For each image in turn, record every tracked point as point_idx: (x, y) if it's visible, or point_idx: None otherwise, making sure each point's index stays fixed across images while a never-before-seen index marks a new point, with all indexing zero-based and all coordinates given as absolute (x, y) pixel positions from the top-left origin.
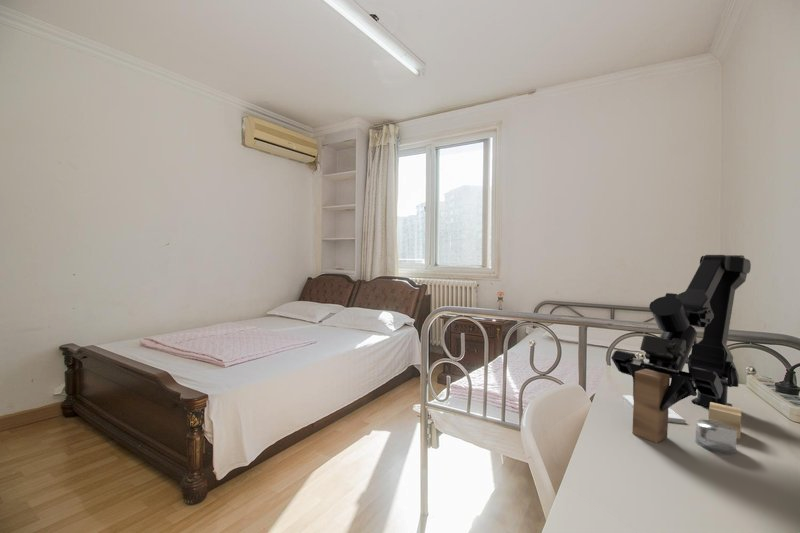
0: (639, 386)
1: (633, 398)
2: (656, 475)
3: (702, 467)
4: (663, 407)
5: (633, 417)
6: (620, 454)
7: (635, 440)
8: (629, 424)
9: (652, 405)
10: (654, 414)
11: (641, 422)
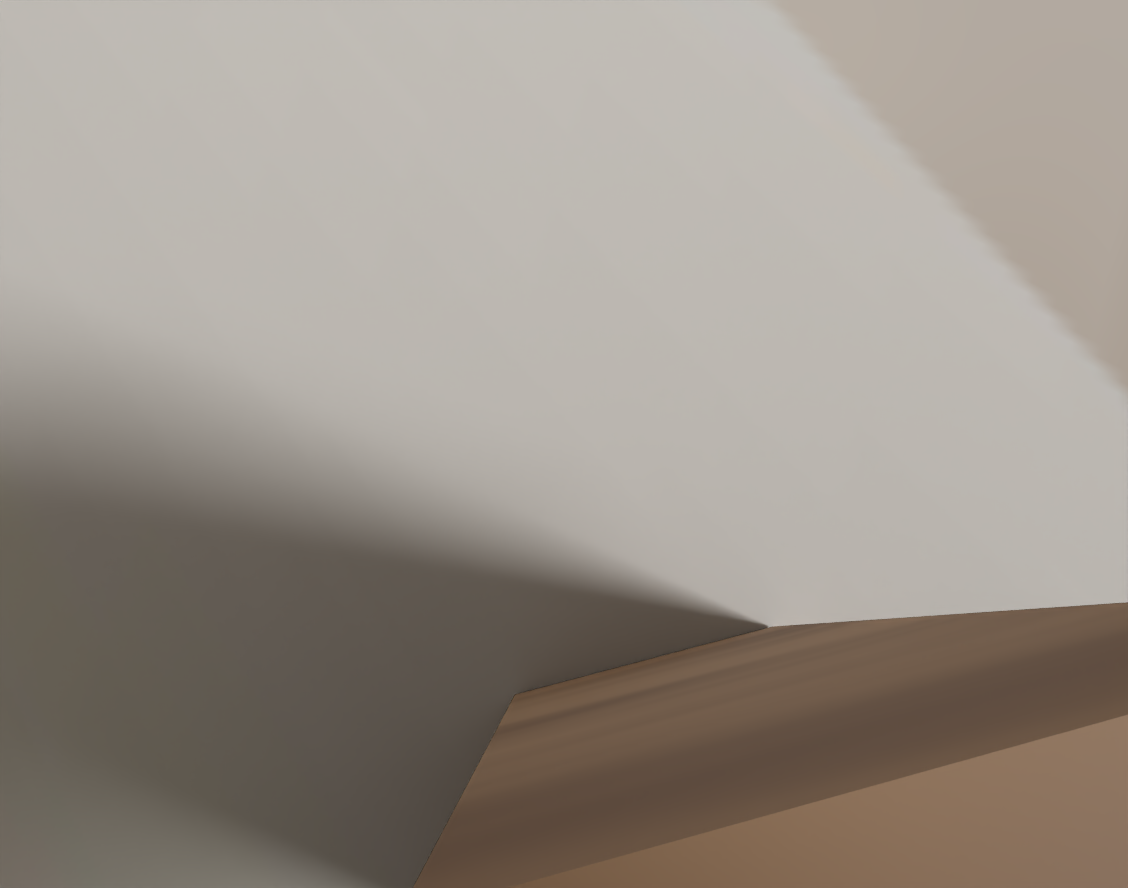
0: (1013, 645)
1: None
2: (99, 107)
3: (13, 679)
4: None
5: (826, 625)
6: (451, 102)
7: (628, 504)
8: None
9: (599, 706)
10: (555, 707)
11: (711, 653)
